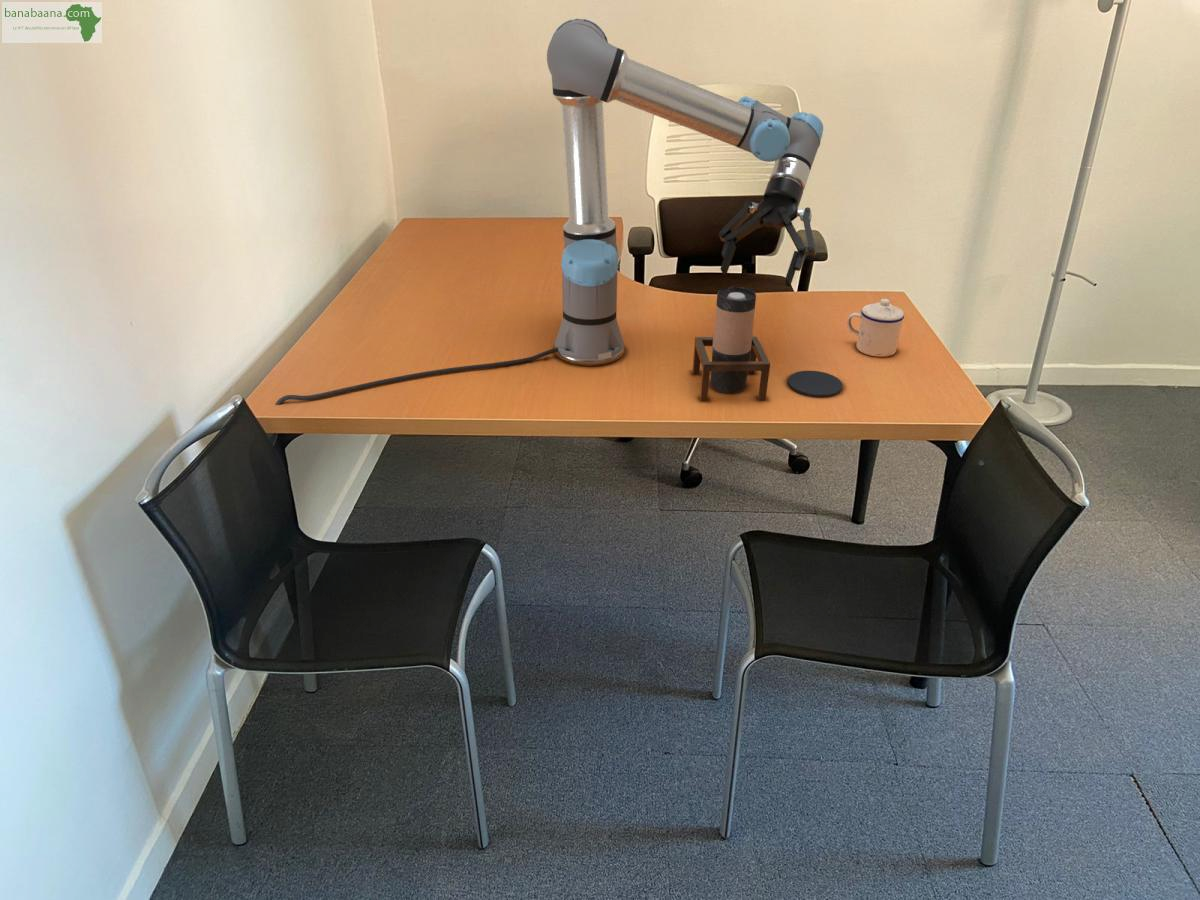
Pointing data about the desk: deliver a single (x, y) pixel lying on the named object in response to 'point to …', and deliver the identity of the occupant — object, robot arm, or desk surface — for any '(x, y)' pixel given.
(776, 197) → the robot arm
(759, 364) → the rack
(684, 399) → the desk surface
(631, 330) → the desk surface
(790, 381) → the coaster
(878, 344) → the teacup with lid
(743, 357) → the travel mug
